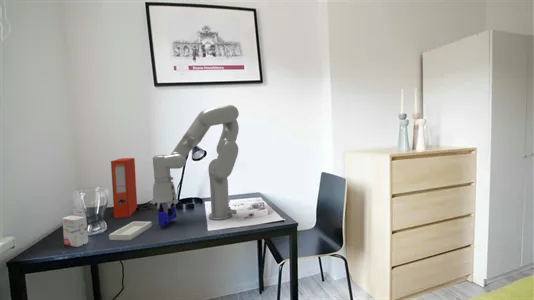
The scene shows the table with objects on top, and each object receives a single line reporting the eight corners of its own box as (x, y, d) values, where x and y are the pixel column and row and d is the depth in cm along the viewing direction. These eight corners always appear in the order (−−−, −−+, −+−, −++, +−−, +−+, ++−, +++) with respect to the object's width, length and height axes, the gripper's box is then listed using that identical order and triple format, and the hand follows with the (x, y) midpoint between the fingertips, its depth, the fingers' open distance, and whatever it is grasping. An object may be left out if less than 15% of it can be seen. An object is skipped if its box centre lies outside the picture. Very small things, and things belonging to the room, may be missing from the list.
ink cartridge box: (63, 245, 113) (60, 211, 112) (75, 240, 118) (72, 207, 117) (77, 247, 110) (74, 212, 109) (89, 242, 115) (86, 209, 114)
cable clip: (168, 217, 140) (167, 205, 139) (176, 217, 139) (175, 205, 139) (155, 225, 128) (154, 213, 128) (164, 225, 127) (163, 213, 127)
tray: (152, 226, 132) (151, 221, 132) (130, 240, 115) (129, 234, 115) (133, 226, 134) (133, 221, 133) (109, 240, 117) (108, 234, 117)
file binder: (137, 208, 167) (134, 157, 165) (130, 216, 150) (126, 160, 148) (123, 209, 165) (120, 158, 163) (114, 218, 148) (110, 161, 146)
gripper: (182, 177, 134) (185, 213, 136) (151, 178, 136) (154, 213, 138) (175, 180, 127) (178, 218, 128) (142, 181, 129) (146, 218, 130)
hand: (166, 215), depth 133 cm, fingers closed on cable clip, 4 cm apart
